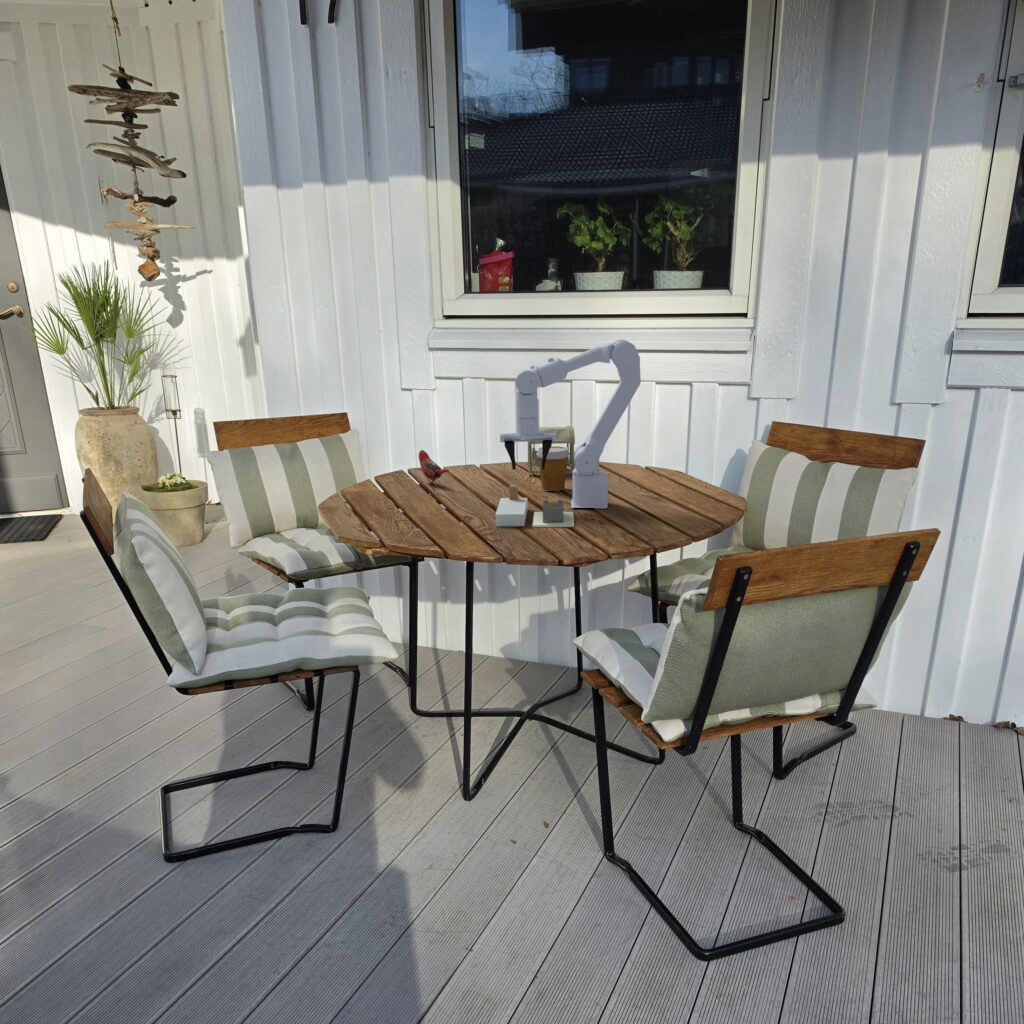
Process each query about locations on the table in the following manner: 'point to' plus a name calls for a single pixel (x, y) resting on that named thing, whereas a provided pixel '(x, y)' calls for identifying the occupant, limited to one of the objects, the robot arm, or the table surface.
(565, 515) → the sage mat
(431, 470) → the decorative bird figurine
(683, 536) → the table surface
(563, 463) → the disposable coffee cup
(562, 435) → the swing bench
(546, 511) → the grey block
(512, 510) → the white rectangular block
